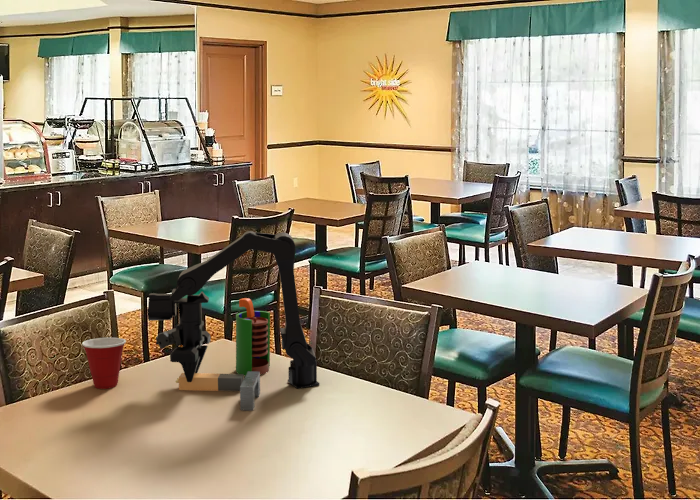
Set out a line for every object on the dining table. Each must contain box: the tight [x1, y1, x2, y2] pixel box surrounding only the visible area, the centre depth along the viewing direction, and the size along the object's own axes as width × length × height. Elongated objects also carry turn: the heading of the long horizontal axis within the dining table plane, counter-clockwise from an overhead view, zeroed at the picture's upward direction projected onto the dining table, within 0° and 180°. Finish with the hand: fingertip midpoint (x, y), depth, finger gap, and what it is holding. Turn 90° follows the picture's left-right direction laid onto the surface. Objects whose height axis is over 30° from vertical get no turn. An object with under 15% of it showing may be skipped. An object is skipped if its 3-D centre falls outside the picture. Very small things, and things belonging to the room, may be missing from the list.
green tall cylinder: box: [235, 297, 271, 377], centre depth 214 cm, size 10×9×20 cm
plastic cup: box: [81, 337, 127, 390], centre depth 202 cm, size 11×11×12 cm
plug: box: [175, 372, 245, 392], centre depth 201 cm, size 17×3×3 cm, turn 88°
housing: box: [239, 371, 261, 411], centre depth 192 cm, size 3×11×6 cm, turn 178°
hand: (192, 378), depth 201 cm, fingers open, 5 cm apart
